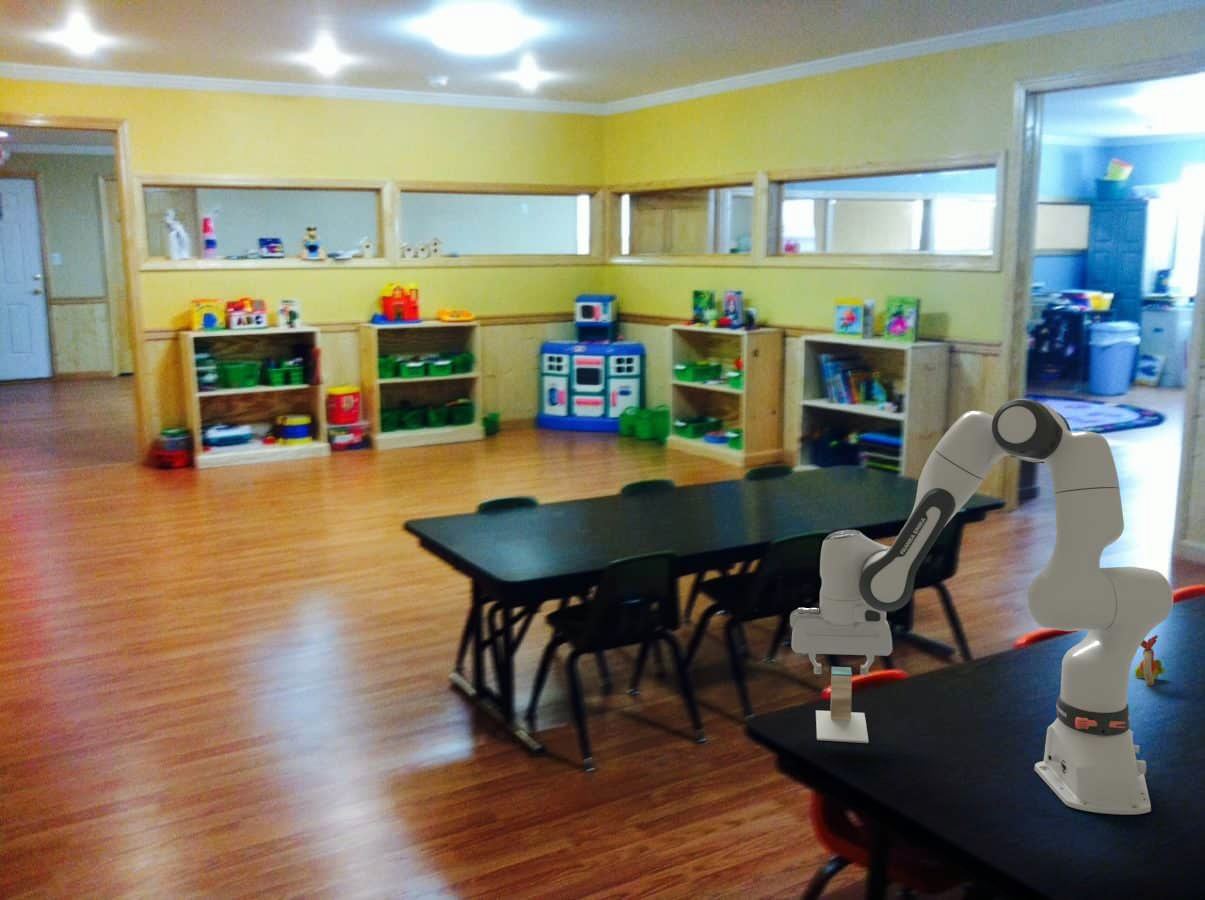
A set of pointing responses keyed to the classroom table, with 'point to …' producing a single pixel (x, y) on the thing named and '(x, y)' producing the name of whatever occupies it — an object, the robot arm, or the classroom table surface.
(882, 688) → the classroom table surface
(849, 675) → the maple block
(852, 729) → the grey mat
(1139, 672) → the bird rattle
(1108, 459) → the robot arm
